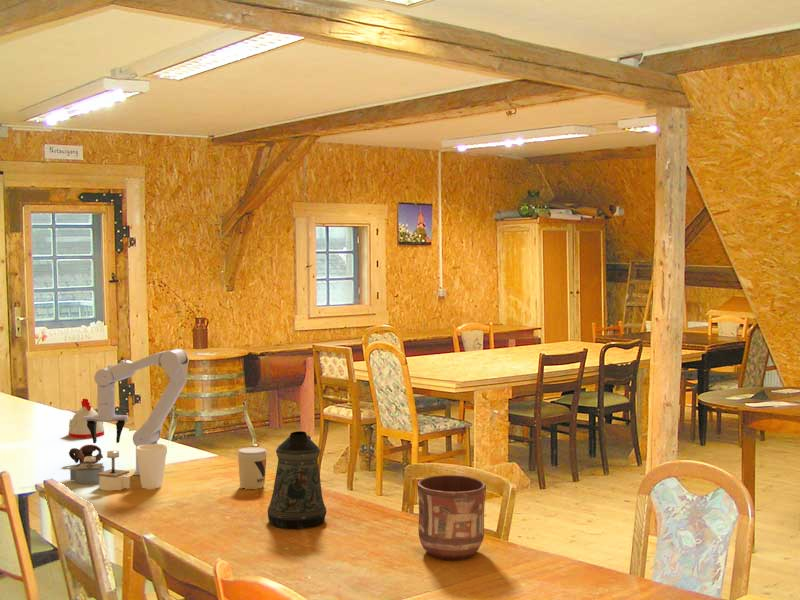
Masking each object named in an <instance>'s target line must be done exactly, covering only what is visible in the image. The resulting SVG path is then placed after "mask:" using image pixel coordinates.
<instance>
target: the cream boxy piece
mask: <svg viewBox="0 0 800 600" xmlns="http://www.w3.org/2000/svg"><path fill="white" fill-rule="evenodd" d="M129 473H130V470H124V469H123V470H122V469H116V468H115V473H112V468H110V469H108V470H104V472H100V473H97V475H98V476H99V483H98V489H99V488H100V489H102V490H101V491H103V490H119V491H122V490H121V489H123V490H125V489H124V488H126V489H130V488H131V476H130V475H128V474H129ZM100 489H99V490H100Z"/></svg>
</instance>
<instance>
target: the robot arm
mask: <svg viewBox="0 0 800 600" xmlns="http://www.w3.org/2000/svg"><path fill="white" fill-rule="evenodd" d="M189 362H190V359H189V357H188V355H187V353H186V351H185V350H184V349H182V348H174V349H172V350H171V349H170V350H165V351H164V350H163V351H160V352H156V353H152V354H150V355H148V356H145V357H142V358H140V359H138V360H135V361H131V360H128V359H121V360H120V361H119V362H118V363H115V364H113V365H112V364H108V365H107V367H105V368H100V369H99V370H97V371H96V372H95V374H94V379H93V380H94V382H95V383H96V385H97V387H96V389H97V392H96V393H97V397H96V398H97V400H96V401H97V402H96V403H97V413H98V415H92V416H84V422H87V427H88V428H89V430H90V433H91V435H92V438H91V439H92V441H93V442H92V443H93V444H96V443H97V438H98V437H96V424H97V422H103V423H104V422H107V423H108V422H109V423H110V422H116V423H115V425H116V426H115V428H116V441H115V442H116V444H119V443H120V442H121V441H120V440H121V435H122V432H123V430H124V426H125V424H126V422H129V414H128V415H127V414H126V415H125V414H116V389H115V388H116V383H117V382H120V381H123V380H125V379H128V378H131V377H134V375H135V374H136V371H138V370H142V369H145V368H148V367H151V366H153V365H155V366H157V367H162V368H163V370H164V372H166V374H167V376H168V379H169V381H168V383H167V385H166V387H165V388H164V391H163V392H162V394H161V395H160V398H158V401H157V403H156V404H155V406H154V408H153V409H152V411H151V413H150V415H149V417H148V418H147V419H146V421H145V422H144V423H143V424H142V425H141V427H140V428H139V429H137V430H136V431H135V432H134V433H133V435H132V442H133V444H134V446H135V448H136V447H138V446H140V445H146V444H158V441H159V440H160V439H161V432H162V429H163V427H164V426H163V424H164V422H165V420H166V418H167V417H168V415H169V414H170V411H171V410H172V408H173V407H174V405H175V404H176V401H177V400H178V397H179V396H180V395H181V393H182V391H183V389H184V387H185V386H186V384H187V382H188V377H189V376H188V373H189V371H188V368H189V367H188V366H189V364H190V363H189ZM165 467H166V466H165ZM165 467H164V471H165V470H166V469H165ZM132 474H133V476H140V473H139V465H138V458H137V455H136V454H135V470H134V472H133V473H132Z"/></svg>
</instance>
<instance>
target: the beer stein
mask: <svg viewBox="0 0 800 600" xmlns="http://www.w3.org/2000/svg"><path fill="white" fill-rule="evenodd" d="M275 452H276V456H277V465H276V472H275V477H274V484H273V490H272V494H271V495H272V496H271V499H270V502H269V505H268V507H267V519H268V522H269V525H270V526H272V527H275V528H277V529H284V530H296V531H297V530H308V529H313V528H317V527H319V526H323V525H324V522H325V521H326V515H327V507H326V505H325V501H324V499H323V498H324V497H323V492H322V483H321V474H320V467H319V462H318V461H319V460H318V459H319V457H320V454H321V449H320V448H319V446H318V445H317V444H316V443H314V441H312V440H311V436H309V435H308V434H307V432H306V431H303V430H302V431H292V432H290V433H289V437H288V438H286V439H285V440H284V441H282V443H281V444H280V445H278V446H277V448H276V451H275Z"/></svg>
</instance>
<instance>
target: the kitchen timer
mask: <svg viewBox="0 0 800 600" xmlns="http://www.w3.org/2000/svg"><path fill="white" fill-rule="evenodd" d="M80 404H81V408H80V409H78V410H77V411H76V412H75V413H74V415H73V417H72V418H70V419H69V423H68V437H69V438H72V439H92V435H91V433H90V430H89V428H88V427H87V422H84V416H92V415H98V411H96V410H95V409H94V408H93V407H92V405H90V404H91V403H90V402H89V399H87V398H82V400H81V402H80ZM104 435H105V428H104V422H97V424H96V438H99V437H103V436H104Z"/></svg>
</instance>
